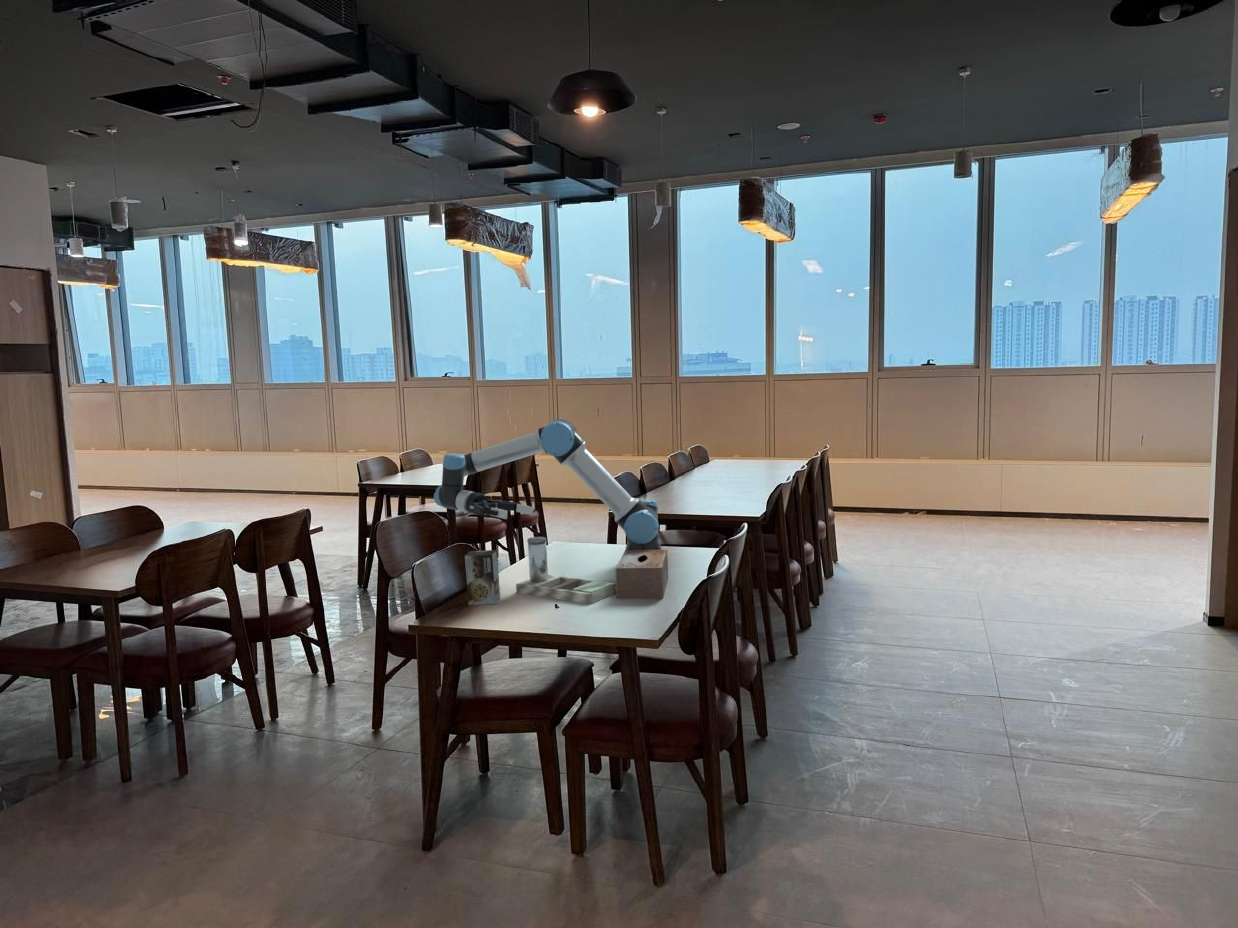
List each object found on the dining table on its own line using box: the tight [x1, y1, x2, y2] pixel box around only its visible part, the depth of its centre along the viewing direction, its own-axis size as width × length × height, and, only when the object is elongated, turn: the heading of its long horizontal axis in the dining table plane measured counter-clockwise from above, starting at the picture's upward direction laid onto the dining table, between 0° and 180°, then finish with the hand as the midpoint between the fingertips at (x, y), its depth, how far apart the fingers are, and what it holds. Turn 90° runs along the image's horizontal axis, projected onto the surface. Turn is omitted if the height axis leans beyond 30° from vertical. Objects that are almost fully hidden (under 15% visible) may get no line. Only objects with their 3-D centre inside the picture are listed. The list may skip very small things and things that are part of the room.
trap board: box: [515, 574, 617, 605], centre depth 266 cm, size 30×14×3 cm, turn 56°
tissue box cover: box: [615, 549, 669, 600], centre depth 268 cm, size 26×14×10 cm, turn 173°
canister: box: [527, 536, 549, 583], centre depth 271 cm, size 6×6×14 cm
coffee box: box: [464, 549, 501, 606], centre depth 258 cm, size 9×6×16 cm
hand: (519, 512), depth 275 cm, fingers open, 13 cm apart
